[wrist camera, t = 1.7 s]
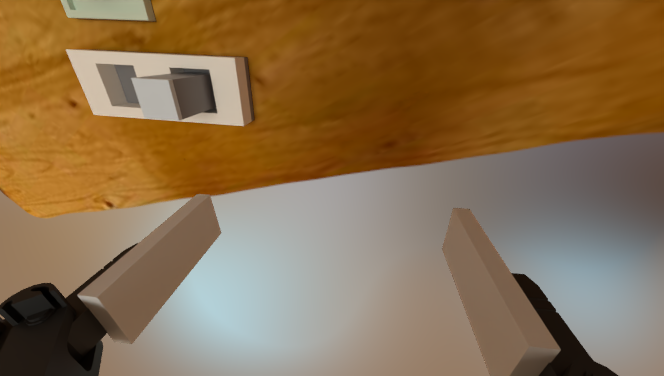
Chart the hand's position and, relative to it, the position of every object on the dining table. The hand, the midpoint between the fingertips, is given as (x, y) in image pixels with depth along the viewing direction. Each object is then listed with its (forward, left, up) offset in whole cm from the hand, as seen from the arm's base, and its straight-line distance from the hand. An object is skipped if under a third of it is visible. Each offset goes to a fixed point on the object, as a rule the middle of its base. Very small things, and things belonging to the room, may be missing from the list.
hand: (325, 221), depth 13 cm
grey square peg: (-3, -20, -22) cm, 30 cm away
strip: (-3, -25, -23) cm, 34 cm away
